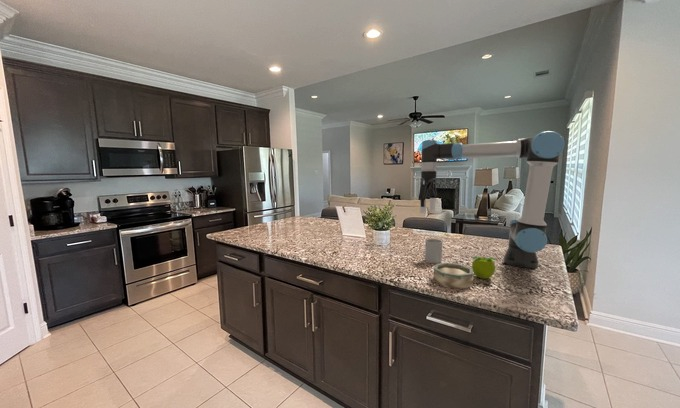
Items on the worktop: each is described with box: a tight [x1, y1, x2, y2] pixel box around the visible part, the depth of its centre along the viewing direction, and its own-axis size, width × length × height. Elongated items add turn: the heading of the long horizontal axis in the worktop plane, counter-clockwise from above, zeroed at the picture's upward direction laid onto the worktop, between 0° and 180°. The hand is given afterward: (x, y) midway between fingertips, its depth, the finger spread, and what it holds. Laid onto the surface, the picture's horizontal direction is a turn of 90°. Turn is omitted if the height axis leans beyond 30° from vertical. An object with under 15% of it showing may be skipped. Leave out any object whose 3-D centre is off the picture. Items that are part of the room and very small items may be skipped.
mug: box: [424, 238, 443, 264], centre depth 152 cm, size 12×8×11 cm
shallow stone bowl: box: [432, 262, 474, 290], centre depth 124 cm, size 16×16×6 cm
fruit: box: [471, 256, 497, 280], centre depth 127 cm, size 9×9×10 cm
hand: (427, 211), depth 149 cm, fingers open, 13 cm apart
